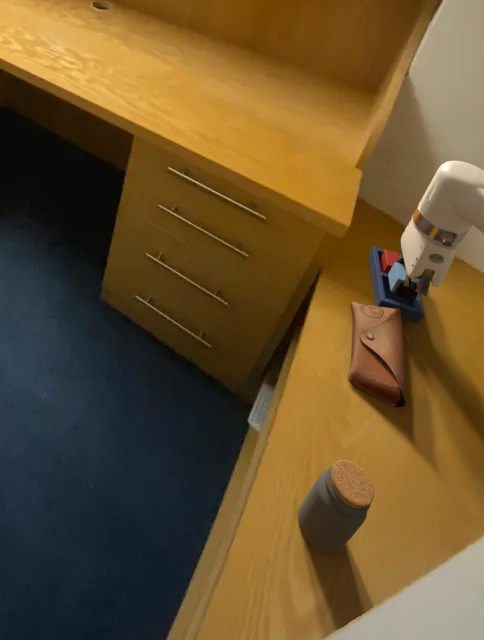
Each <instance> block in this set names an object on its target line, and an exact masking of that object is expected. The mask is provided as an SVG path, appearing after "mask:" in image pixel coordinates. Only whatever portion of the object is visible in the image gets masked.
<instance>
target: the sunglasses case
mask: <svg viewBox="0 0 484 640" xmlns="http://www.w3.org/2000/svg"><path fill="white" fill-rule="evenodd" d="M350 308H351V316H352V332H351V333H352V334H351V354H350V365H349V370H348V375H347V380H348V382H349V383H350V384H351V385H352V386H354V387H356V388H357V389H359V390H361V391H362V392H364V393H366V394H368V395H369V396H371V397H373V398H375V399H377V400H379V401H381V402H383V403H385V404H387V405H389V406H390V407H393V408H398V409H400V408H401V409H402V408H405V407H406V405H407V401H408V400H407V372H406V355H405V354H406V353H405V338H404V337H405V336H404V325H403V320H402V319H403V318H401V311H400V309H398V308H396V309H393V308H387V307H379V306H376V305H372V304H365V303H359V302H356V301H354V300H352V301H350Z"/></svg>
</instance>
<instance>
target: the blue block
mask: <svg viewBox="0 0 484 640" xmlns="http://www.w3.org/2000/svg"><path fill="white" fill-rule="evenodd" d="M406 275H407V271H406V267H405V265H403V264H400V263H397V262H395V263H394V265H393V267H392V268H391V270H390V272H389V274H388V277H389V283H390V289H391V291H392V292H395V290H396V288H397V287H398V285H399V283H400V282H401V280H405V277H406ZM411 281H413V282H416V283H419V279H417V278H415V279H412V280H411Z"/></svg>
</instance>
